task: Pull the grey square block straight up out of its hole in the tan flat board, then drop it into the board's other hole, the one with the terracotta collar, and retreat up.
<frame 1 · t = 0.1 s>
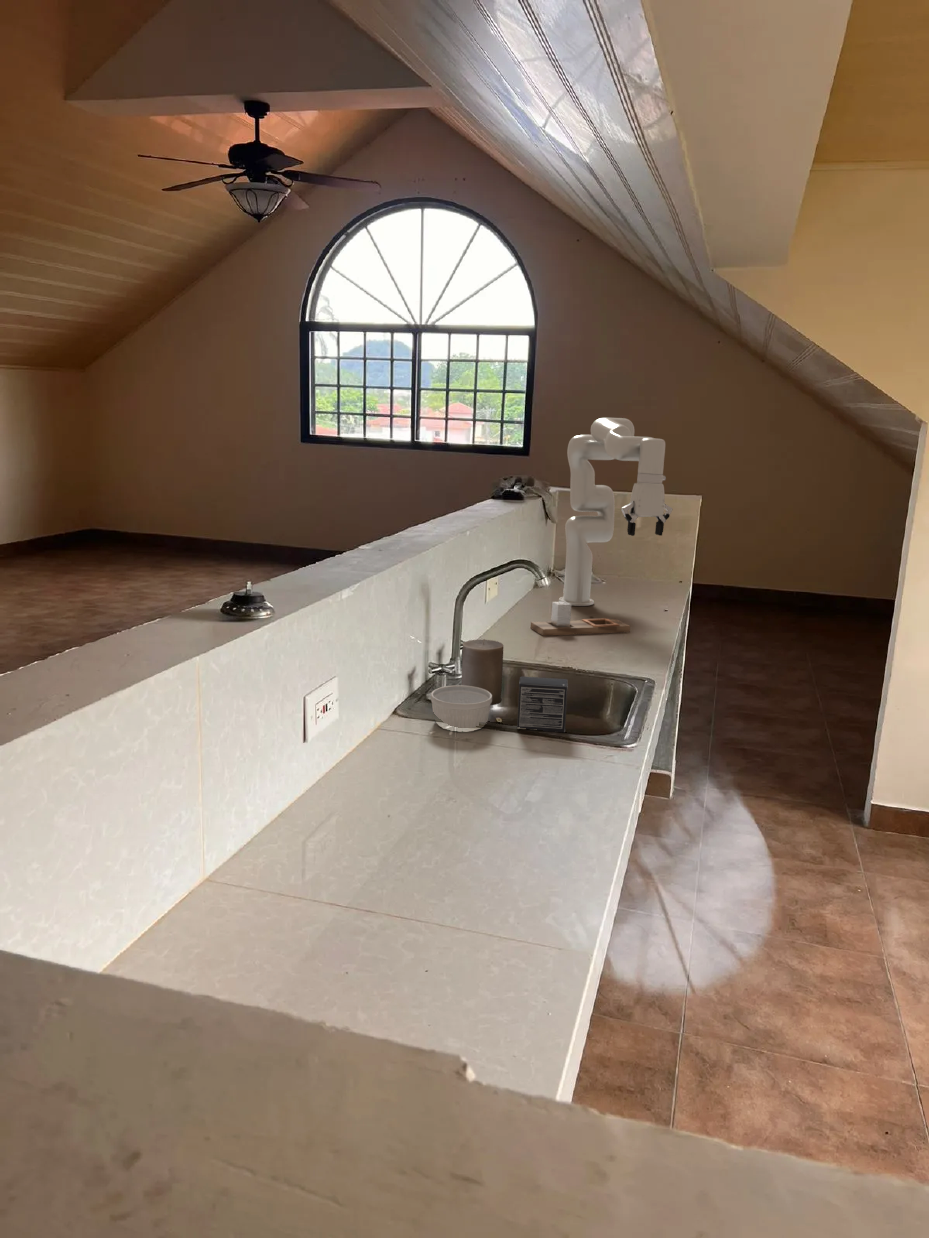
hand: (644, 535, 280), 31 cm above the worktop, tool pointing down, fingers open, 9 cm apart
grey square block: (559, 631, 285), resting in tan flat board
small box: (541, 727, 198), on the worktop
ramekin: (460, 725, 197), on the worktop
tan flat board: (580, 630, 288), on the worktop
pillar candle: (480, 700, 214), on the worktop
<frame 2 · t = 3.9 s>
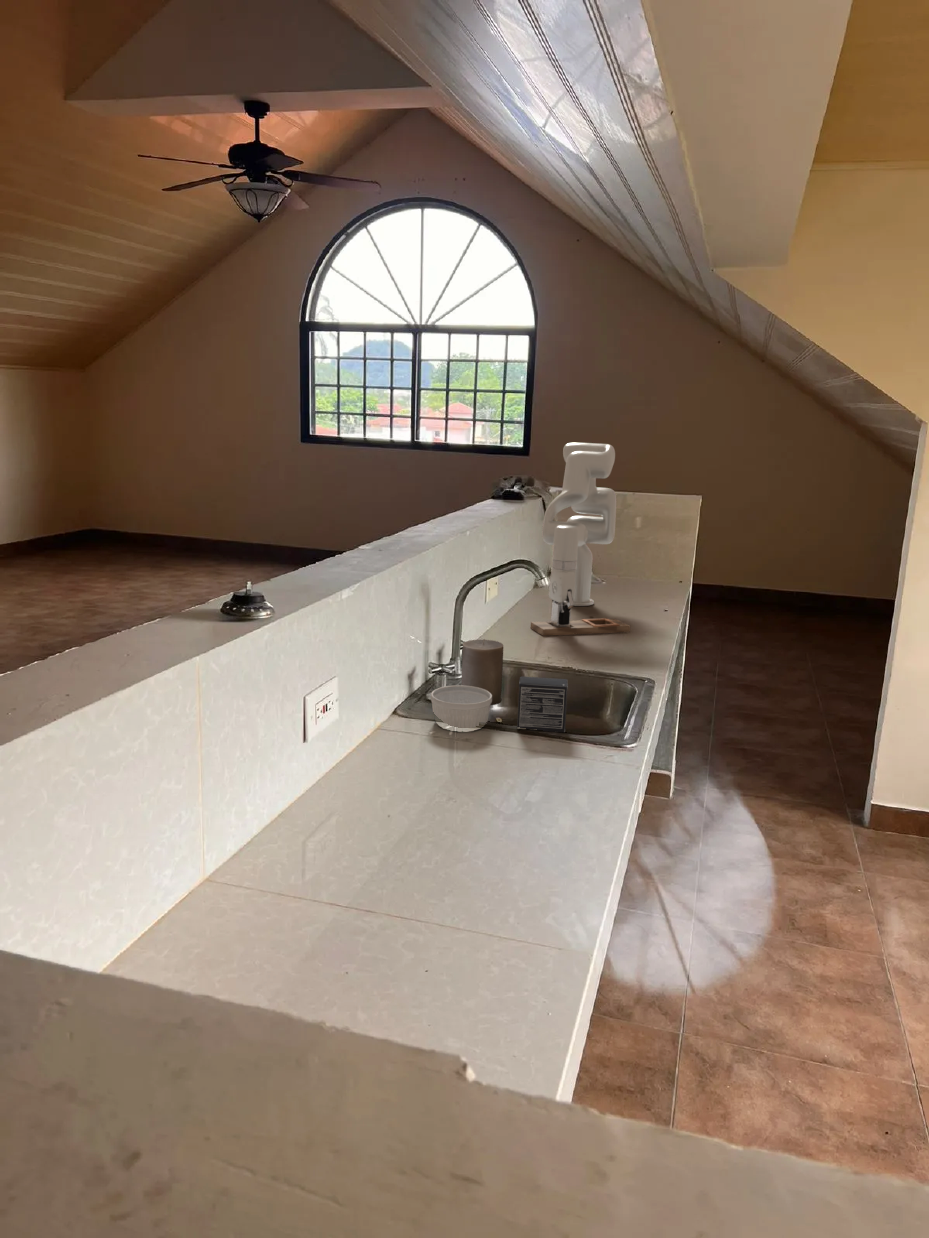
hand: (560, 621, 285), 3 cm above the worktop, tool pointing down, fingers closed on grey square block, 4 cm apart
grey square block: (559, 630, 285), resting in tan flat board, touching gripper
everything else where it was.
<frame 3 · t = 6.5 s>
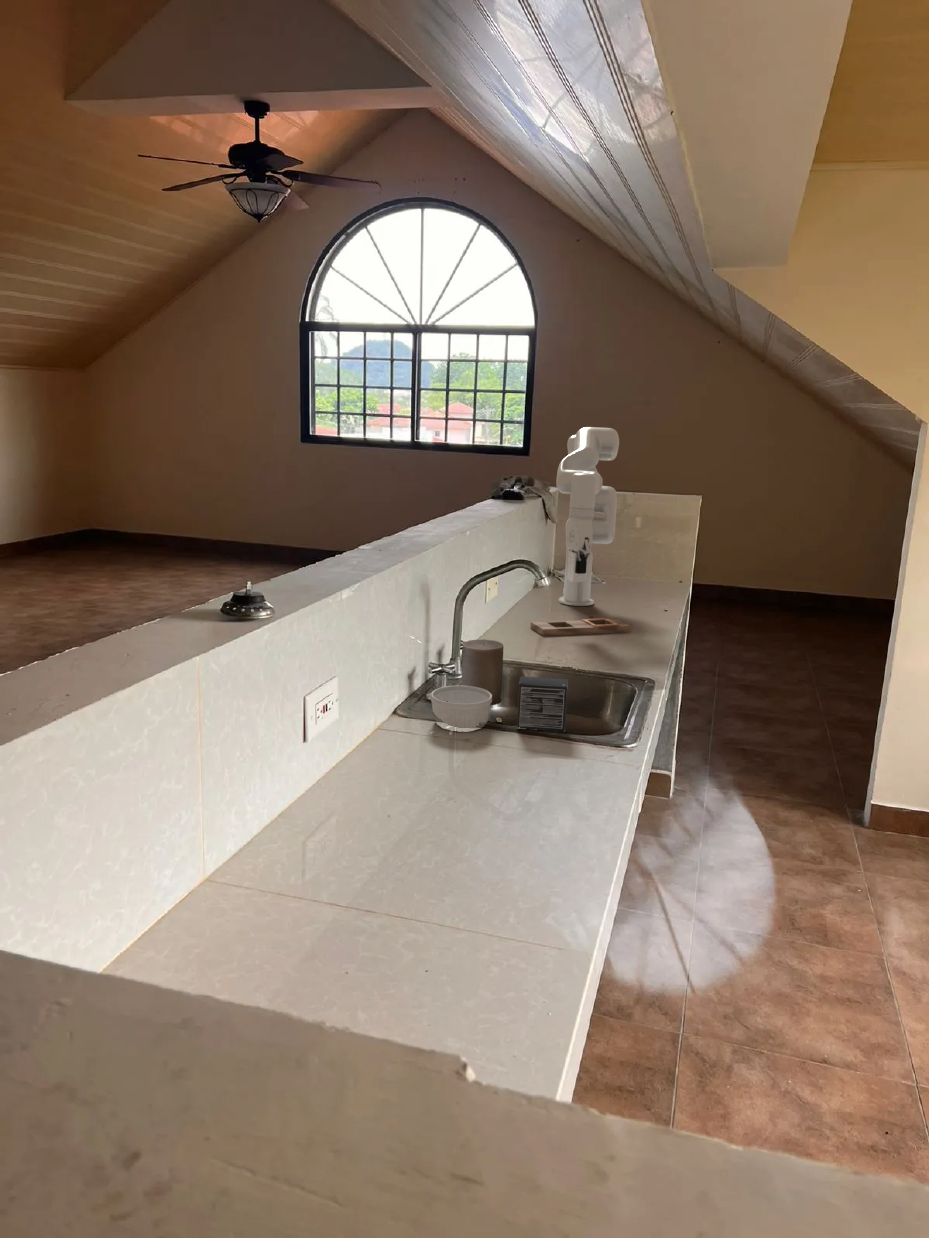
hand: (577, 571, 283), 19 cm above the worktop, tool pointing down, fingers closed on grey square block, 4 cm apart
grey square block: (576, 580, 283), point 16 cm above the worktop, touching gripper
everything else where it was.
when the fingers open (4 cm above the worktop, at t = 9.5 s): grey square block stays where it is, resting in tan flat board.
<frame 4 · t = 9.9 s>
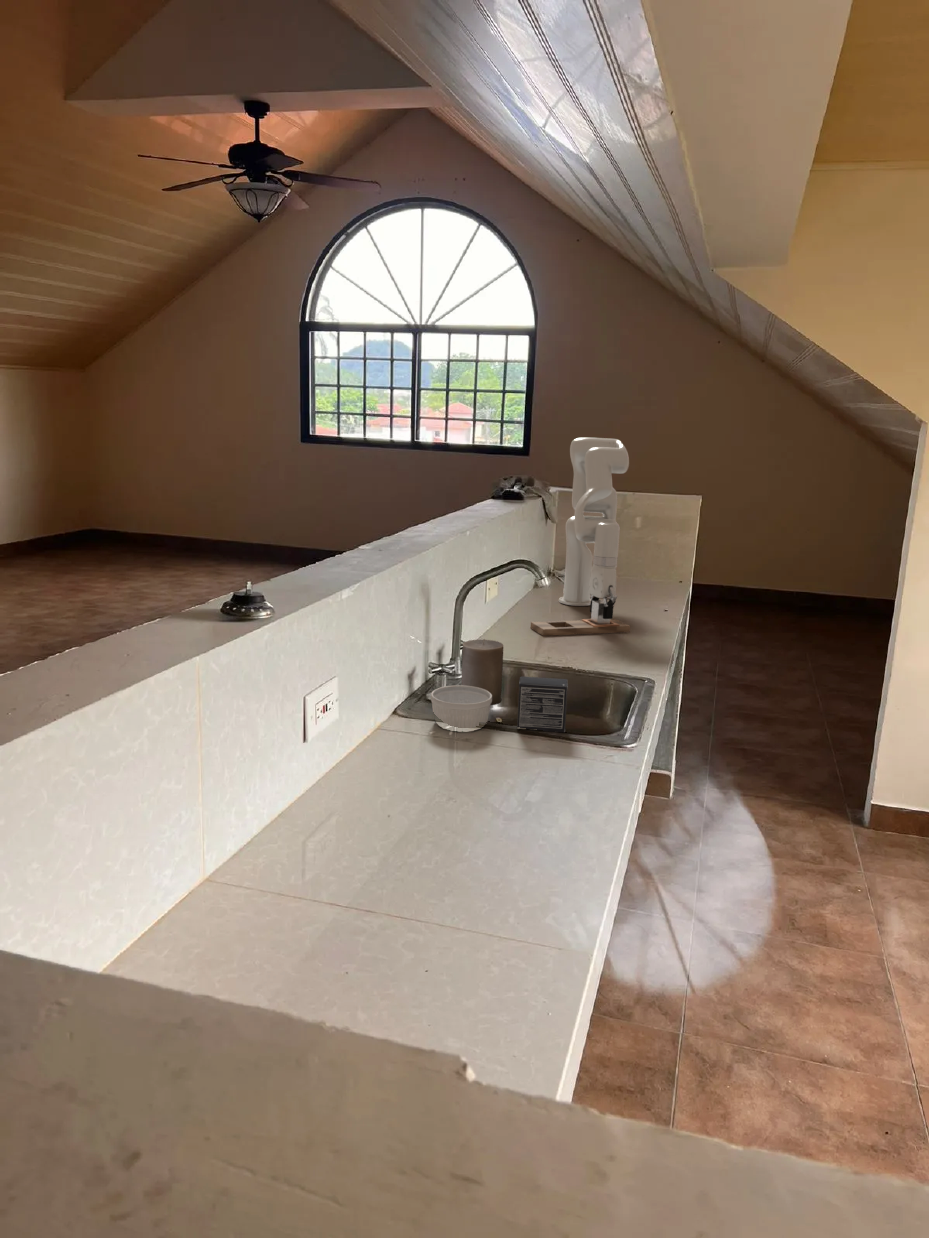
hand: (601, 615, 289), 5 cm above the worktop, tool pointing down, fingers open, 8 cm apart
grey square block: (599, 629, 290), resting in tan flat board
everything else where it was.
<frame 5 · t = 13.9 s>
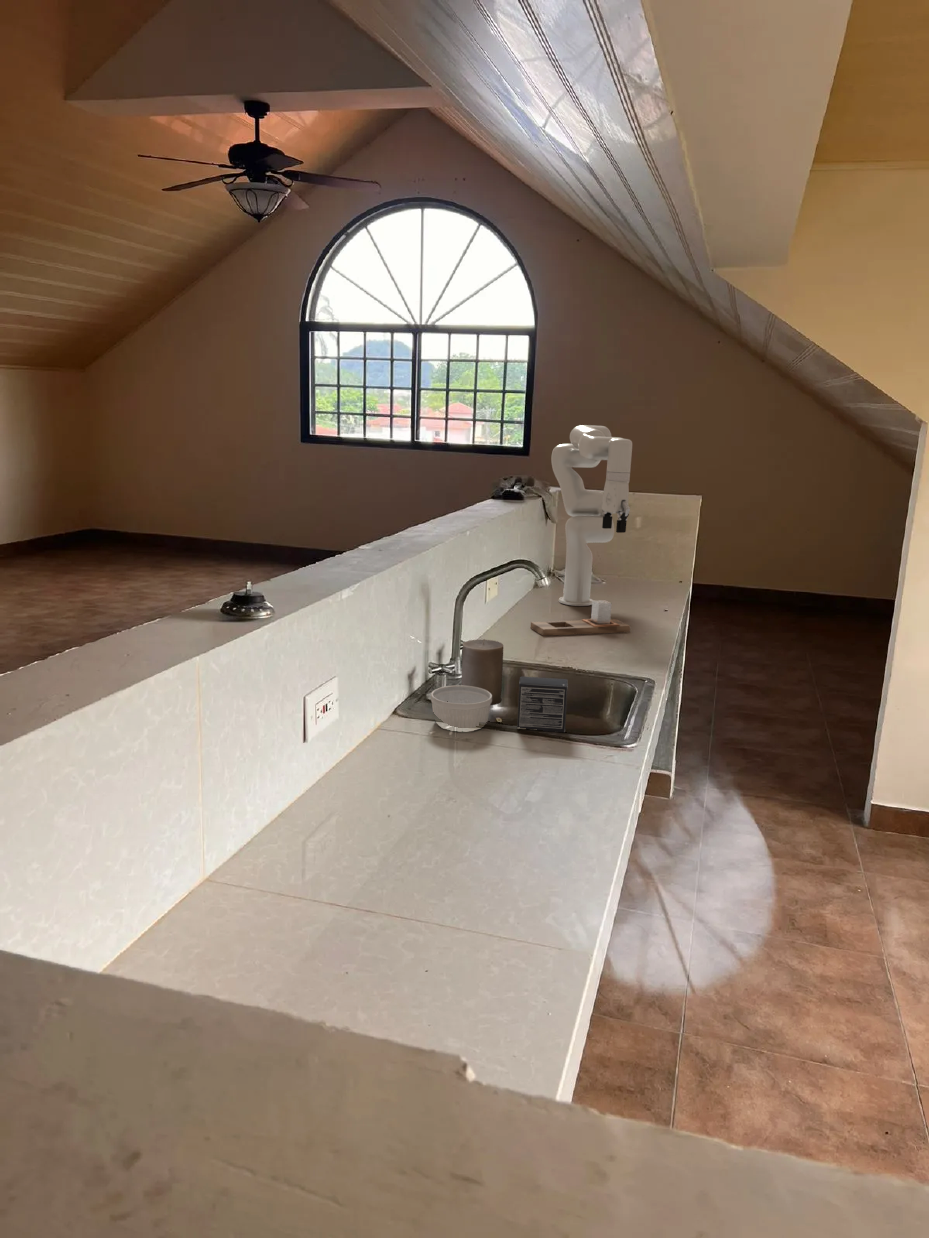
hand: (613, 530, 296), 30 cm above the worktop, tool pointing down, fingers open, 9 cm apart
nothing on the worktop moved.
at the end: grey square block 0.1 cm from the target spot on the tan flat board, point 0.0 cm above the tan flat board's base; grey square block tilted 0°; the gripper is holding nothing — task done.
